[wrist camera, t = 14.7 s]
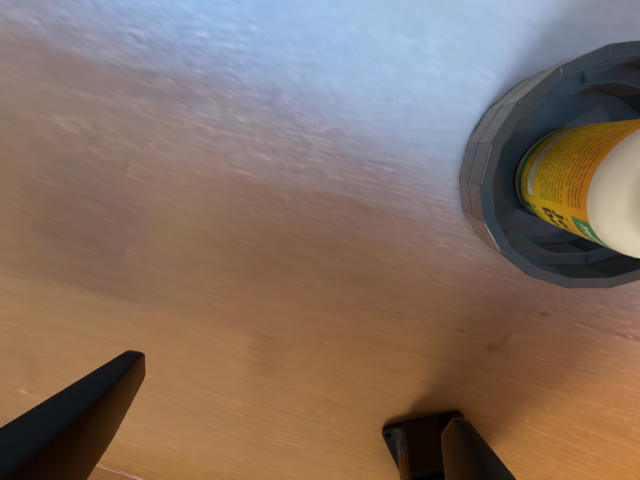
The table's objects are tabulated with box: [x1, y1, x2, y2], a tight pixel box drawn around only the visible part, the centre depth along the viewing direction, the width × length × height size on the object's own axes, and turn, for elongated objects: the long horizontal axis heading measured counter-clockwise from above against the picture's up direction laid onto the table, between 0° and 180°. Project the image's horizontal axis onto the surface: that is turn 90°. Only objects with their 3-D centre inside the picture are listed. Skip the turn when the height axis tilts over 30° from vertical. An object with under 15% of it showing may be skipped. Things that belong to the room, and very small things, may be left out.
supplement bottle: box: [515, 119, 640, 258], centre depth 13 cm, size 5×5×10 cm
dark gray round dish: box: [459, 40, 640, 288], centre depth 16 cm, size 11×11×4 cm
